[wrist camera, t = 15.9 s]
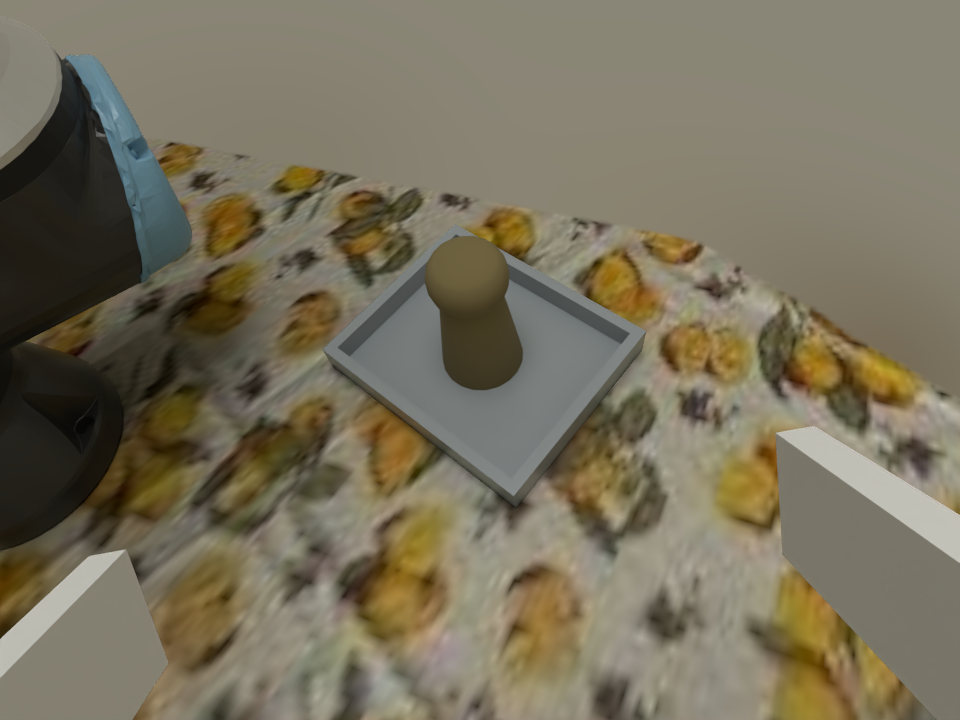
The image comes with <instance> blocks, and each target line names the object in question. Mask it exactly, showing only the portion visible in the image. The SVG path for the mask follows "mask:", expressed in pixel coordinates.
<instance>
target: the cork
mask: <svg viewBox="0 0 960 720" xmlns="http://www.w3.org/2000/svg"><path fill="white" fill-rule="evenodd" d="M424 280H425V284H426V289H427V292H428V295H429V297H430V298H431V299H432V301H433V302H434V304H435V305H436V306H437V307H438V309H439V310H440V325H441V341H442V356H443V363H444V367H445V370H446V372H447V373H448V375H449V376H450V378H451V379H452V380H453V381H455V382H456V383H457V384H459V385H460V386H462V387H465V388H468V389H471V390H489V389H493V388H497V387H499V386H501V385H503V384H505V383H506V382H508V381H510V379H511V378H512V377H513V376H514V375H515V374H516V373H517V372H518V370H519V368H520V365H521V363H522V359H523V348H522V345H521V342H520V339H519V336H518V333H517V330H516V327H515V324H514V322H513V319H512V316H511V313H510V310H509V307H508V304H507V301H506V298H505V294H506V292H507V289H508V286H509V268H508V265H507V262H506V259H505V257H504V255H503V253H502V252H501V251H500V250H499V249H498V248H497V246H495V245H494V244H492V243H491V242H489V241H487V240H485V239H484V238H480V237H476V236H460V237H456V238H452V239H450V240H448V241H446V242H444V243H442V244H441V245H440V246H439V247H438V248H437V249H436V250H434V252H433V253H432V255H431V257H430V258H429V260H428V262H427V264H426V269H425V278H424Z"/></svg>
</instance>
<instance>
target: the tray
mask: <svg viewBox="0 0 960 720" xmlns="http://www.w3.org/2000/svg"><path fill="white" fill-rule="evenodd" d="M460 236H475V235H474V234H472V233H470V232H468V231H467V230H465V229H463V228H461V227H459V226H458V225H456V224H455V225H453V226H452V227H451V228H450V229H449V230H448V231H447V232H446V233H445V234H444V235H443V236H442V237H441V238H440V239H439V240H438V241H437V242H436V243H434V244H433V245H432V246H431V247H430V248H429V249H428V250H427V251H426V252H425V253H424V254H423V255H422V256H421V257H420V258H419V259H418V260H416V261H415V262H414V263H413V264H412V265H411V266H410V267H409V268H408V269H407V270H406V271H405V272H404V273H403V274H402V275H401V276H400V277H399V278H397V279H396V280H395V281H394V282H393V283H392V284H391V285H390V286H389V287H388V288H387V289H386V290H385V291H384V292H383V293H382V294H381V295H380V296H378V297H377V298H376V299H375V300H374V301H373V302H372V303H371V304H370V305H369V306H368V307H367V308H366V309H365V310H364V311H363V312H362V313H360V314H359V315H358V316H357V317H356V318H355V319H354V320H353V321H352V322H351V323H350V324H349V325H348V326H347V327H346V328H345V329H344V330H343V331H341V332H340V333H339V334H338V335H337V336H336V337H335V338H334V339H333V340H332V341H331V342H330V343H329V344H328V345H327V346H326V347H325V348H324V349H322V350H323V351H324V353H325V354H326V356H327V358H328V359H329V361H330V362H331V364H332V365H333V367H335V368H336V369H337V370H338V371H340V372H341V373H342V374H344V375H345V376H346V377H347V378H349V379H350V380H351V381H353V382H354V383H355V384H356V385H358V386H359V387H360V388H362V389H363V390H364V391H366V392H367V393H368V394H369V395H371V396H372V397H373V398H375V399H376V400H377V401H378V402H380V403H381V404H382V405H384V406H385V407H386V408H387V409H389V410H390V411H391V412H393V413H394V414H395V415H396V416H398V417H399V418H400V419H402V420H403V421H404V422H406V423H407V424H408V425H409V426H411V427H412V428H413V429H415V430H416V431H417V432H418V433H420V434H421V435H422V436H424V437H425V438H426V439H427V440H429V441H430V442H431V443H433V444H434V445H435V446H436V447H438V448H439V449H440V450H442V451H443V452H444V453H446V454H447V455H448V456H449V457H451V458H452V459H453V460H455V461H456V462H457V463H458V464H460V465H461V466H462V467H464V468H465V469H466V470H467V471H469V472H470V473H471V474H473V475H474V476H475V477H476V478H478V479H479V480H480V481H482V482H483V483H484V484H485V485H487V486H488V487H489V488H491V489H492V490H493V491H495V492H496V493H497V494H498V495H500V496H501V497H502V498H504V499H505V500H506V501H507V502H509V503H510V504H511V505H513V506H514V507H515V508H516V507H517V506H518V505H519V504H520V502H521V501H522V500H523V499H524V497H525V496H526V495H527V494H528V492H529V491H530V490H531V489H532V487H533V486H534V485H535V484H536V482H537V481H538V480H539V479H540V477H541V476H542V475H543V474H544V472H545V471H546V470H547V468H548V467H549V466H550V465H551V463H552V462H553V461H554V460H555V458H556V457H557V456H558V455H559V453H560V452H561V451H562V450H563V448H564V447H565V446H566V445H567V443H568V442H569V441H570V440H571V438H572V437H573V436H574V435H575V433H576V432H577V431H578V430H579V428H580V427H581V426H582V425H583V423H584V422H585V421H586V420H587V418H588V417H589V416H590V414H591V413H592V412H593V411H594V409H595V408H596V407H597V406H598V404H599V403H600V402H601V401H602V399H603V398H604V397H605V396H606V394H607V393H608V392H609V391H610V389H611V388H612V387H613V386H614V384H615V383H616V382H617V381H618V379H619V378H620V377H621V376H622V374H623V373H624V372H625V371H626V369H627V368H628V367H629V366H630V364H631V363H632V362H633V360H634V359H635V358H636V357H637V355H638V354H639V353H640V352H641V350H642V347H643V343H644V339H645V335H646V331H645V330H643V329H641V328H640V327H638V326H636V325H634V324H632V323H631V322H629V321H627V320H625V319H624V318H622V317H620V316H618V315H616V314H615V313H613V312H611V311H609V310H607V309H606V308H604V307H602V306H600V305H599V304H597V303H595V302H593V301H591V300H590V299H588V298H586V297H584V296H582V295H581V294H579V293H577V292H575V291H574V290H572V289H570V288H568V287H566V286H565V285H563V284H561V283H559V282H558V281H556V280H554V279H552V278H550V277H549V276H547V275H545V274H543V273H541V272H540V271H538V270H536V269H534V268H533V267H531V266H529V265H527V264H525V263H524V262H522V261H520V260H518V259H517V258H515V257H513V256H511V255H509V254H508V253H506V252H504V251H502V250H500V249H499V248H498V249H499V250H500V251H501V252H502V253H503V255H504V257H505V259H506V262H507V265H508V268H509V286H508V289H507V292H506V294H505V298H506V301H507V304H508V307H509V310H510V313H511V316H512V319H513V322H514V324H515V327H516V330H517V333H518V336H519V339H520V342H521V345H522V348H523V359H522V363H521V365H520V368H519V370H518V372H517V373H516V374H515V375H514V376H513V377H512V378H511V379H510V381H508V382H506V383H505V384H503V385H501V386H499V387H497V388H493V389H489V390H471V389H468V388H465V387H462V386H460V385H459V384H457V383H456V382H455V381H453V380H452V379H451V378H450V376H449V375H448V373H447V372H446V370H445V367H444V363H443V356H442V341H441V325H440V310H439V309H438V307H437V306H436V305H435V304H434V302H433V301H432V299H431V298H430V297H429V295H428V292H427V289H426V284H425V280H424V278H425V269H426V264H427V262H428V260H429V258H430V257H431V255H432V253H433V252H434V250H436V249H437V248H438V247H439V246H440V245H441V244H442V243H444V242H446V241H448V240H450V239H452V238H456V237H460ZM476 237H477V236H476Z"/></svg>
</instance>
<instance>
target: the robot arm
mask: <svg viewBox="0 0 960 720" xmlns="http://www.w3.org/2000/svg"><path fill="white" fill-rule="evenodd" d="M191 239H192V231H191V226H190V224H189V221H188V219H187V217H186V215H185V212H184V210H183V208H182V206H181V204H180V202H179V200H178V199H177V197H176V195H175V193H174V191H173V189H172V187H171V185H170V183H169V182H168V180H167V178H166V176H165V174H164V172H163V170H162V169H161V167H160V165H159V163H158V161H157V160H156V158H155V156H154V154H153V153H152V151H151V150H150V149H149V147H148V145H147V142H146V140H145V138H144V137H143V135H142V133H141V131H140V130H139V127H138V125H137V123H136V121H135V120H134V118H133V116H132V114H131V112H130V111H129V109H128V107H127V105H126V104H125V102H124V100H123V98H122V97H121V95H120V93H119V92H118V90H117V88H116V86H115V85H114V83H113V81H112V80H111V78H110V76H109V74H108V73H107V71H106V70H105V68H104V67H103V65H102V64H101V63H100V61H99V60H98V59H97V58H95V57H94V56H91V55H79V56H75V55H72V56H71V55H68V56H66V57H65V59H63V60H61V58H60V57H59V56H58V54H57V53H56V52H55V51H54V49H53V48H52V47H51V46H50V44H49V43H48V42H47V41H46V40H45V39H44V38H43V37H42V36H41V35H40V34H39V33H38V32H36V31H35V30H34V29H32V28H31V27H30V26H28V25H25V24H23V23H21V22H19V21H17V20H14V19H10V18H7V17H3V16H0V550H1V549H5V548H9V547H12V546H15V545H18V544H20V543H23V542H25V541H27V540H30V539H32V538H34V537H36V536H38V535H39V534H41V533H43V532H45V531H46V530H48V529H49V528H51V527H52V526H54V525H55V524H57V523H58V522H59V521H61V520H62V519H63V518H65V517H66V516H67V515H68V514H69V513H71V512H72V511H73V510H74V509H75V508H76V507H77V506H78V505H79V504H80V503H81V502H82V501H83V500H84V499H85V498H86V497H87V496H88V495H89V493H90V492H91V491H92V490H93V489H94V487H95V486H96V485H97V483H98V482H99V480H100V479H101V478H102V476H103V474H104V473H105V471H106V470H107V468H108V466H109V464H110V462H111V460H112V458H113V456H114V453H115V451H116V448H117V445H118V442H119V439H120V435H121V429H122V406H121V401H120V398H119V395H118V393H117V391H116V389H115V387H114V386H113V384H112V383H111V382H110V381H109V380H108V379H107V378H106V377H105V376H104V375H103V374H101V373H100V372H99V371H97V370H96V369H94V368H93V367H92V366H90V365H89V364H88V363H86V362H85V361H83V360H81V359H79V358H77V357H75V356H73V355H71V354H68V353H64V352H61V351H57V350H54V349H50V348H47V347H43V346H40V345H36V344H33V343H29V342H26V340H28V339H30V338H32V337H34V336H36V335H38V334H40V333H42V332H44V331H46V330H48V329H50V328H52V327H54V326H56V325H58V324H60V323H62V322H64V321H66V320H68V319H70V318H72V317H74V316H76V315H78V314H79V313H81V312H83V311H85V310H87V309H89V308H91V307H93V306H95V305H97V304H99V303H101V302H103V301H105V300H107V299H109V298H111V297H113V296H115V295H117V294H119V293H121V292H123V291H125V290H127V289H129V288H131V287H133V286H134V285H136V284H138V283H139V284H140V283H143V282H145V281H147V280H148V278H149V277H150V275H151V274H153V273H155V272H156V271H158V270H159V269H161V268H163V267H164V266H166V265H168V264H169V263H171V262H172V261H174V260H176V259H177V258H179V257H181V256H182V255H183V254H184V253H185V252H186V251H187V249H188V247H189V245H190V243H191ZM776 449H777V467H778V484H779V501H780V519H781V536H782V554H783V556H784V557H785V558H786V559H787V560H788V561H789V562H790V563H791V564H792V565H793V566H794V567H795V568H796V569H797V571H798V572H799V573H800V574H801V575H802V576H803V577H804V578H805V579H806V580H807V581H808V582H809V583H810V584H811V586H812V587H813V588H814V589H815V590H816V591H817V592H818V593H819V594H820V595H821V596H822V597H823V598H824V599H825V600H826V602H827V603H828V604H829V605H830V606H831V607H832V608H833V609H834V610H835V611H836V612H837V613H838V614H839V615H840V617H841V618H842V619H843V620H844V621H845V622H846V623H847V624H848V625H849V626H850V627H851V628H852V629H853V630H854V631H855V633H856V634H857V635H858V636H859V637H860V638H861V639H862V640H863V641H864V642H865V643H866V644H867V645H868V646H869V647H870V649H871V650H872V651H873V652H874V653H875V654H876V655H877V656H878V657H879V658H880V659H881V660H882V661H883V662H884V664H885V665H886V666H887V667H888V668H889V669H890V670H891V671H892V672H893V673H894V674H895V675H896V676H897V677H898V678H899V680H900V681H901V682H902V683H903V684H904V685H905V686H906V687H907V688H908V689H909V690H910V691H911V692H912V693H913V694H914V696H915V697H916V698H917V699H918V700H919V701H920V702H921V703H922V704H923V705H924V706H925V707H926V708H927V709H928V711H929V712H930V713H931V714H932V715H933V716H934V717H935V718H936V719H937V720H960V515H959V514H957V513H956V512H954V511H952V510H951V509H949V508H947V507H946V506H944V505H942V504H941V503H939V502H938V501H936V500H934V499H933V498H931V497H929V496H928V495H926V494H924V493H923V492H921V491H920V490H918V489H916V488H915V487H913V486H911V485H910V484H908V483H906V482H905V481H903V480H902V479H900V478H898V477H897V476H895V475H893V474H892V473H890V472H888V471H887V470H885V469H884V468H882V467H880V466H879V465H877V464H875V463H874V462H872V461H870V460H869V459H867V458H866V457H864V456H862V455H861V454H859V453H857V452H856V451H854V450H852V449H851V448H849V447H847V446H846V445H844V444H843V443H841V442H839V441H838V440H836V439H834V438H833V437H831V436H829V435H828V434H826V433H825V432H823V431H821V430H820V429H818V428H816V427H815V426H811V427H806V428H800V429H795V430H789V431H783V432H778V433H776ZM167 665H168V660H167V658H166V655H165V652H164V650H163V647H162V644H161V641H160V639H159V636H158V633H157V631H156V628H155V625H154V623H153V620H152V617H151V614H150V612H149V609H148V606H147V604H146V601H145V598H144V596H143V593H142V590H141V587H140V585H139V582H138V579H137V577H136V574H135V571H134V569H133V566H132V563H131V560H130V558H129V555H128V552H127V550H120V551H114V552H109V553H103V554H98V555H92V556H89V557H87V558H86V559H85V560H84V561H83V562H82V563H81V564H80V565H79V566H78V567H77V568H76V569H75V570H74V571H72V572H71V573H70V574H69V575H68V576H67V577H66V578H65V579H64V580H63V581H62V582H61V583H60V584H59V585H58V586H56V587H55V588H54V589H53V590H52V591H51V592H50V593H49V594H48V595H47V596H46V597H45V598H44V599H43V600H41V601H40V602H39V603H38V604H37V605H36V606H35V607H34V608H33V609H32V610H31V611H30V612H29V613H28V614H26V615H25V616H24V617H23V618H22V619H21V620H20V621H19V622H18V623H17V624H16V625H15V626H14V627H13V628H11V629H10V630H9V631H8V632H7V633H6V634H5V635H4V636H3V637H2V638H1V639H0V720H132V719H133V718H134V716H135V715H136V713H137V712H138V710H139V708H140V707H141V705H142V704H143V702H144V701H145V699H146V698H147V696H148V694H149V693H150V691H151V690H152V688H153V687H154V685H155V684H156V682H157V680H158V679H159V677H160V676H161V674H162V673H163V671H164V670H165V668H166V666H167Z"/></svg>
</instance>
